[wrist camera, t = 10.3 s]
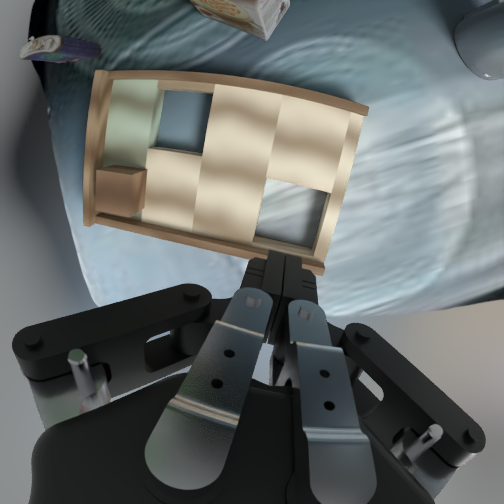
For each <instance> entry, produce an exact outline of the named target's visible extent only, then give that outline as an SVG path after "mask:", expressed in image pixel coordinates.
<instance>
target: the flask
mask: <svg viewBox="0 0 504 504" xmlns="http://www.w3.org/2000/svg"><path fill="white" fill-rule="evenodd" d="M30 39H31V41H30V42H28V43H27V44H25V45H24V46H23V47H22V48H21V50H20V54H19V56H20V59H24V60H41V61H49V62H57V63H66V62H67V61H77V60H79V59H82V60H83V59H85V58H87V59H95V58H97V57H98V56H99V55H101V50H102V46H101V45H100V44H97V43H91V42H86V41H82V40H78V39H74V38H69V37H65V36H61V35H46V36H42V37H39V38H36V39H34V37H33V36H32V37H31V38H29V40H30ZM33 39H34V40H33Z"/></svg>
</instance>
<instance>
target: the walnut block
mask: <svg viewBox="0 0 504 504" xmlns="http://www.w3.org/2000/svg"><path fill="white" fill-rule="evenodd" d="M147 170H148V169H142V168H135V167H128V166H121V165H111V166H108V167H104V168H101V169H98V170H96V197H95V210H97V211H101V212H106V213H110V214H115V215H120V216H124V217H131V216H132V215H134V214H136V213H137V212H139V211H140V210H142V209H144V206H145V193H146V181H147Z"/></svg>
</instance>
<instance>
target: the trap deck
mask: <svg viewBox="0 0 504 504" xmlns="http://www.w3.org/2000/svg"><path fill="white" fill-rule="evenodd" d="M165 90H176V91H188V92H199V93H208V94H213V99H212V104H211V109H210V114H209V120H208V126H207V131H206V137H205V143H204V149H203V153H197V152H191V151H184V150H177V149H170V148H163V147H156V146H157V138H158V131H159V124H160V118H161V112H162V106H163V100H164V94H165ZM368 110H369V107H368V106H365V105H362V104H359V103H356V102H352V101H349V100H346V99H342V98H339V97H335V96H332V95H328V94H324V93H320V92H316V91H312V90H308V89H304V88H299V87H295V86H290V85H285V84H280V83H275V82H269V81H264V80H258V79H251V78H245V77H237V76H230V75H221V74H212V73H200V72H187V71H166V70H122V71H106V70H95V75H94V80H93V86H92V92H91V99H90V106H89V113H88V122H87V131H86V143H85V156H84V177H83V225H84V226H87V227H90V226H92V225H93V224H95V223H97V224H101V225H105V226H109V227H113V228H117V229H122V230H126V231H130V232H134V233H138V234H143V235H147V236H151V237H155V238H159V239H164V240H168V241H172V242H176V243H181V244H185V245H189V246H193V247H198V248H202V249H206V250H211V251H215V252H219V253H223V254H228V255H232V256H236V257H241V258H245V259H249V260H251V259H253V258H254V257H258V258H262V259H267V256H268V252H269V249H270V250H275V251H279V252H283V253H285V255H286V253H287V254H291V255H295V256H299V257H302V268H304V269H308V270H311V271H312V273H313V274H315V275H320V276H323V273H324V270H325V266H324V261H325V258H326V255H327V252H328V249H329V245H330V242H331V239H332V236H333V232H334V229H335V226H336V222H337V219H338V216H339V212H340V209H341V205H342V202H343V198H344V194H345V191H346V187H347V183H348V180H349V176H350V172H351V168H352V164H353V160H354V157H355V152H356V148H357V144H358V140H359V136H360V132H361V127H362V123H363V118H364V116H367V115H368ZM111 165H121V166H128V167H135V168H142V169H148V170H147V181H146V193H145V206H144V209H142V210H140V211H139V212H137V213H136V214H134V215H132V216H131V217H124V216H120V215H115V214H110V213H106V212H101V211H97V210H95V197H96V170H98V169H101V168H104V167H108V166H111ZM267 178H270V179H275V180H279V181H284V182H288V183H292V184H297V185H301V186H305V187H309V188H313V189H317V190H321V191H325V192H328V193H327V197H326V201H325V204H324V208H323V212H322V215H321V219H320V223H319V226H318V230H317V233H316V237H315V240H314V244H313V247H312V249H311V248H307V247H303V246H298V245H294V244H290V243H285V242H281V241H277V240H272V239H268V238H264V237H259V236H255V231H256V226H257V222H258V217H259V212H260V207H261V203H262V198H263V193H264V188H265V184H266V179H267Z"/></svg>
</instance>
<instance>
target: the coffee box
mask: <svg viewBox="0 0 504 504" xmlns="http://www.w3.org/2000/svg"><path fill="white" fill-rule="evenodd" d="M190 1H191V2H192V3H193V5H194V6H195V7H196V8H197V9H198V10H199V11H200V12H201V14H202V15H203V16H205V17H207V18H210V19H213V20H216V21H219V22H222V23H224V24H227V25H230V26H232V27H235V28H237V29H240V30H242V31H244V32H247V33H249V34H251V35H254V36H256V37H258V38H261V39H263V40H265V41H267V40H268V39H269V37H270V36H271V34H272V32H273V31H274V29H275V28H276V26H277V25H278V23H279V22H280V20H281V19H282V17H283V16H284V14H285V12H286V11H287V9H288V8H289V6H290V0H190Z"/></svg>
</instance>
